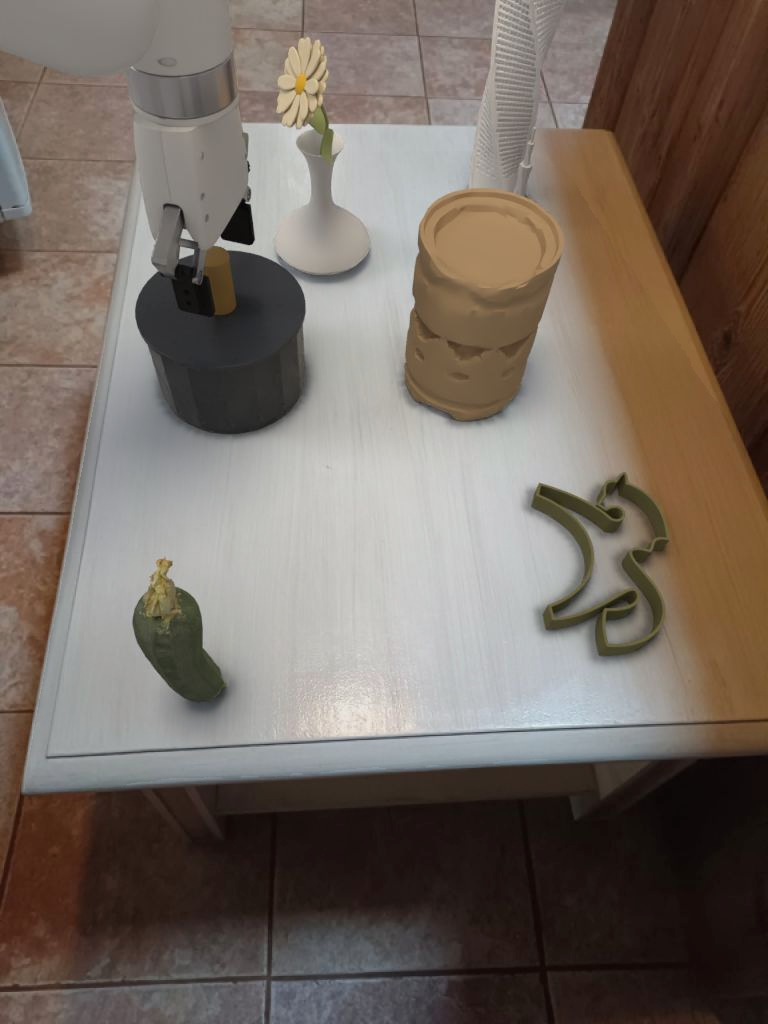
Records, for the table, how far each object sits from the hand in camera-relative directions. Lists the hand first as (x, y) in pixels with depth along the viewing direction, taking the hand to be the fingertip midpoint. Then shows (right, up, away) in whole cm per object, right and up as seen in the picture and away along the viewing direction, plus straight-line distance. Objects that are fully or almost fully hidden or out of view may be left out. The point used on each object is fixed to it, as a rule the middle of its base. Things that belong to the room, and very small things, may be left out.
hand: (218, 274), depth 64 cm
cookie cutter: (+35, -26, +2) cm, 43 cm away
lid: (0, -2, +3) cm, 4 cm away
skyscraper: (+28, +18, +29) cm, 45 cm away
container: (+23, -7, +13) cm, 27 cm away
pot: (-1, -7, +11) cm, 13 cm away
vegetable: (0, -36, -6) cm, 36 cm away
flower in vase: (+7, +9, +22) cm, 25 cm away
